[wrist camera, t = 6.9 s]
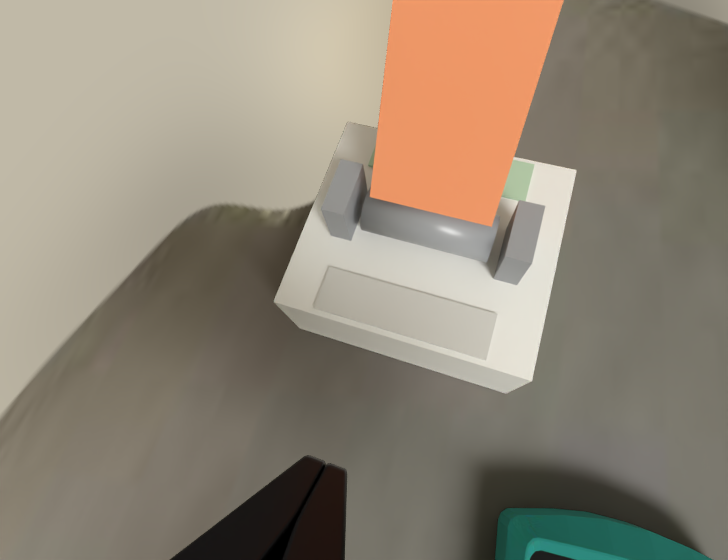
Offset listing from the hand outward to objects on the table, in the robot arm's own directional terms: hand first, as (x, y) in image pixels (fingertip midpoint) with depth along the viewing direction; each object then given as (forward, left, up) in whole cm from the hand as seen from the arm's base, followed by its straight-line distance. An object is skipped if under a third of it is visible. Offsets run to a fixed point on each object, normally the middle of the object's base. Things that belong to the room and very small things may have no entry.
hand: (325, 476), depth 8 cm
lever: (+7, +4, -5) cm, 9 cm away
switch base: (+7, +4, -10) cm, 12 cm away
